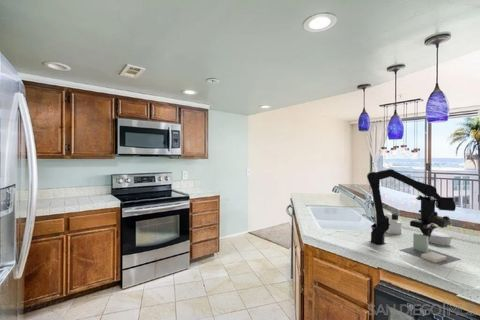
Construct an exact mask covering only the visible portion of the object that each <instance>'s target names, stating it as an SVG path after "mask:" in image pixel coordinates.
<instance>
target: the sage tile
mask: <svg viewBox="0 0 480 320" xmlns="http://www.w3.org/2000/svg"><path fill="white" fill-rule="evenodd" d="M412 235H413V241H412V243H413V245H412V247H413V249H416V250H419V251H422V252H425V253H428V249H429V241H428V236H425V235H423V233H418V232H413V234H412Z"/></svg>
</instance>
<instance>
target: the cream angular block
mask: <svg viewBox="0 0 480 320" xmlns="http://www.w3.org/2000/svg"><path fill="white" fill-rule="evenodd" d="M422 258H423V259H422ZM420 259H422V260H424V259H426V260H425V261H427V260H429V261H428V262H430V261H431V262H430V263H432V262H434V263H433V264H435V263H438V262H442V261H445V260H447V257H446V256H443V255H440V254H437V253H434V252H429V253H425V254H421V258H420Z"/></svg>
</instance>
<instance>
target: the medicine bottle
mask: <svg viewBox="0 0 480 320" xmlns="http://www.w3.org/2000/svg"><path fill="white" fill-rule="evenodd" d="M386 215H387V216H388V218H389V224H390V226H389V229H388V230H387V231H385V233H388V234H389V235H401V234H402V222H400V221H399V214H397V213H396V212H387V213H386Z"/></svg>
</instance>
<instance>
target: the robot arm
mask: <svg viewBox="0 0 480 320" xmlns="http://www.w3.org/2000/svg"><path fill="white" fill-rule="evenodd" d="M366 178H367V181H368V183H369V186H370V189H371V194H372V195H371V196H372V199H373V206H374V210H375V216H374V217H375V219H374V220H375V222H374V223H373V224H371V226H370V228H371V231H370V240H369V243H371V244H374V245H377V246H383V245H387V243H386V242H385V233H386V231H387V230H388V229H389V226H390V224H389V218H388V216H387V214H386V215H385V213H384V207H383V203H382V198H381V197H382V196H381V190H380V184H381V180H384V179H387V178H393V179H395V180H397V181H400V182H401V183H404V184H406V185H408V186H409V187H412V188H413V189H415V190H416V191H417V192H420V193H421V194H419V195H418V196H417V197H416V198H415V199H416V201H417V200H418V201H420V209H419V210H418V213H420V217H419V218H418V220H417V219H414V220H411V221H409V226H410V227H413V228H416V229H419V230H420V232H421V234H422V235H425V236H428V240H429V238H430V235H431V233H432V231H434V230H435V229H437V228H440V229H444V228H447V227H448V225H450V224H451V220H450V217H449V216H447V215H445V216H442V215H441V216H440V215H438V211H448V212H455V211H456V208H457V207H456V206H457V205H456V203H455V200H454V199H455V198H454V197H452V196H440V195H439V193H438V192H437V191H438V190H437V188H436V187H435V186H434V185H431V184H428V183H424V182H421V181H418V180H416V179H413V178H411V177H408V176H406V175H405V174H402V173H400V172H398V171H396V170H395V169H392V168H387V169H383V170H380V171H379V170H378V171H370V172H368V173H367V174H366ZM423 195H424V196H423ZM436 209H438V211H436Z"/></svg>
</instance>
